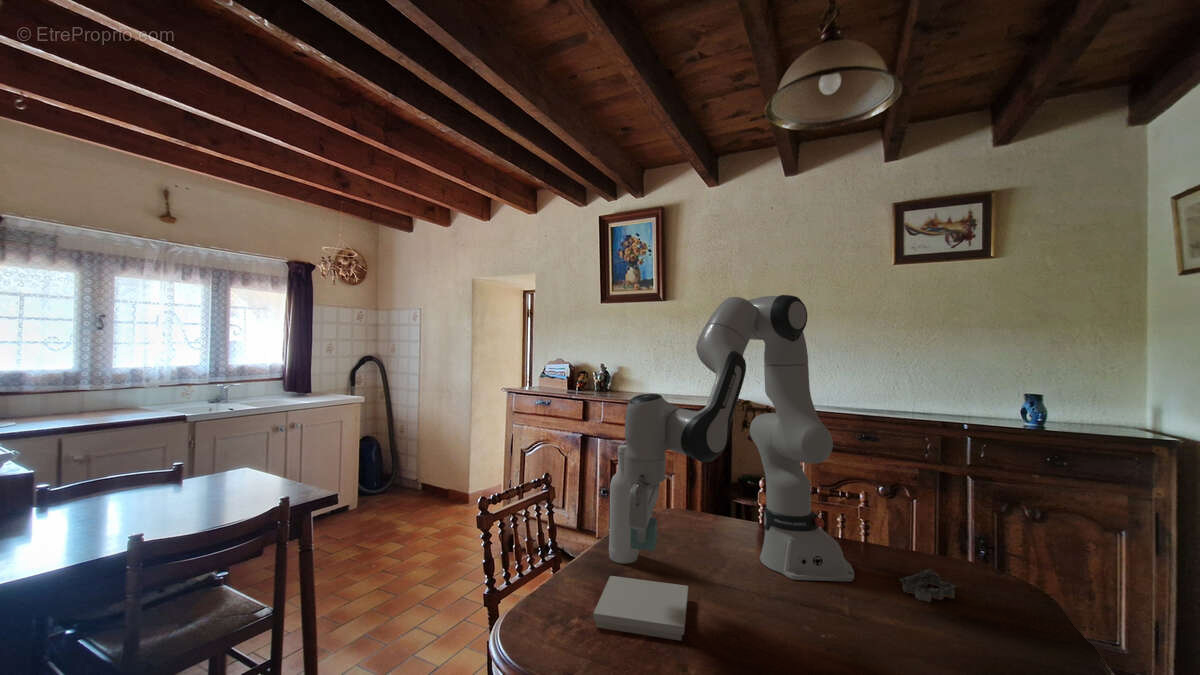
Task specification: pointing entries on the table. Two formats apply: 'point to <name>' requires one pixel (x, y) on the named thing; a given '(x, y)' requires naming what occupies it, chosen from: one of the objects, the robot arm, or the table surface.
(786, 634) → the table surface
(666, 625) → the cream wooden base
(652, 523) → the teal block
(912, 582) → the grey jagged ring
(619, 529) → the bottle
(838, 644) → the table surface
